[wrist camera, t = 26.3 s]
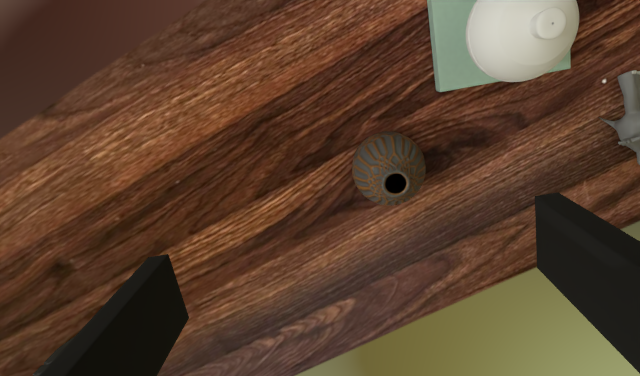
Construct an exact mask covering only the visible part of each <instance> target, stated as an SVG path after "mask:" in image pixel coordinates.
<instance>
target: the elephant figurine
mask: <svg viewBox="0 0 640 376" xmlns="http://www.w3.org/2000/svg"><path fill="white" fill-rule="evenodd" d="M618 81H619V84H620V87H621V90H622V93H623V96H624V107H625V112H626V113H625V115H624V116H623V117H622V118H621V119H619V120H616V121H610V120H605V119H602V118H600V117H598V118H600V119H601V120H603V121H604V122H606V123H608V124H609V125H611V126H612V127H613V128H615V129H616V130H617V132H618V135H619V138H620V140H621V141H620V142H618V144H621V145H623V146H625V145H626V146H627V147H629V148H631V149H632V150H634V151H635V152H636V153H637V162H638V164H639V165H640V71H637V70H634V71H630V72H627V73H624V74H622V75H620V76H618Z"/></svg>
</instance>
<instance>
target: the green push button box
mask: <svg viewBox="0 0 640 376" xmlns="http://www.w3.org/2000/svg"><path fill="white" fill-rule="evenodd" d="M476 1H477V0H427V4H428V14H429V24H430V35H431V45H432V55H433V65H434V75H435V85H436V91H438V92H445V91H450V90H455V89H461V88H466V87H472V86H477V85H483V84H488V83H494V82H499V81H501V80H498V79H495V78H493V77H491V76H489V75H487V74H485V73H484V72H483V71H481V70H480V69H479V68H478V67H477V66H476V64H475V63H474V62H473V60H472V58H471V57H470V54H469V52H468V49H467V45H466V25H467V21H468V17H469V14H470V12H471V10H472V8H473V6H474V4H475V3H476ZM565 69H570V50H569V51H568V53H567V54H566V55H565V57H564V58H563V59H562V60H561V61H560V62H559V63H558V64H557V65H556V66H555V67H554V68H552V69H551V70H549V71H548V72H546V73H549V72H554V71H560V70H565Z"/></svg>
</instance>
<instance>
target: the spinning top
mask: <svg viewBox="0 0 640 376" xmlns="http://www.w3.org/2000/svg"><path fill="white" fill-rule="evenodd" d="M578 26H579V10H578V5H577V1H576V0H477V1H476V3H475V4H474V6H473V8H472V10H471V12H470V14H469V17H468V21H467V25H466V45H467V49H468V52H469V54H470V57H471V58H472V60H473V62H474V63H475V64H476V66H477V67H478V68H479V69H480V70H481V71H483V72H484V73H485V74H487V75H489V76H491V77H493V78H495V79H498V80H501V81H506V82H521V81H526V80H530V79H534V78H536V77H539V76H541V75H543V74H545V73H546V72H548V71H549V70H551V69H552V68H554V67H555V66H556V65H557V64H558V63H559V62H560V61H561V60H562V59H563V58H564V57H565V55H566V54H567V53H568V51H569V50H570V48H571V46H572V44H573V42H574V40H575V37H576V34H577V31H578Z"/></svg>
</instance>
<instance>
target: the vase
mask: <svg viewBox="0 0 640 376" xmlns="http://www.w3.org/2000/svg"><path fill="white" fill-rule="evenodd" d="M425 172H426V165H425V160H424V156H423V154H422V152H421V150H420V148H419V147H418V146H417V144H416V143H415V142H414V141H412V140H411V139H410V138H408V137H407V136H405V135H403V134H400V133H397V132H380V133H377V134H374V135H372V136H370V137H368V138H367V139H366V140H364V141H363V142H362V143H361V144H360V146H359V147H358V149H357V150H356V152H355V155H354V158H353V163H352V173H353V178H354V181H355V184H356V186H357V188H358V189H359V190H360V192H361V193H362V194H363V195H364V196H365V197H367V198H368V199H369V200H371V201H373V202H375V203H378V204H381V205H397V204H401V203H404V202H406V201H408V200H409V199H411V198H412V197H413V196H414V195H415V194H416V193H417V192H418V191H419V189H420V188H421V186H422V184H423V181H424V178H425Z"/></svg>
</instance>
